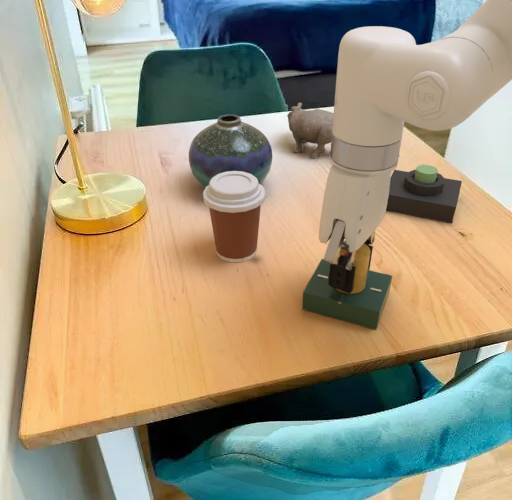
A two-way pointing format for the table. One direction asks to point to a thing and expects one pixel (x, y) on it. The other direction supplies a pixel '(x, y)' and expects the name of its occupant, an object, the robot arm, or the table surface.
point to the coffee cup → (235, 214)
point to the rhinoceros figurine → (310, 128)
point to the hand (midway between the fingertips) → (349, 276)
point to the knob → (359, 267)
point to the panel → (347, 298)
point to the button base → (423, 196)
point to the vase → (229, 150)
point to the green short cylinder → (425, 174)
